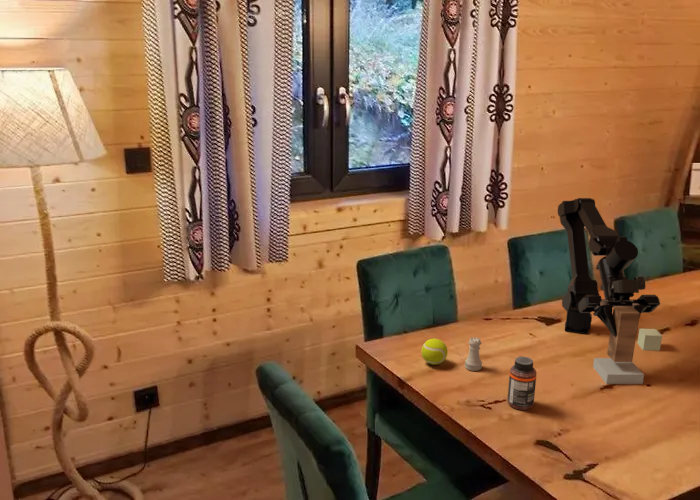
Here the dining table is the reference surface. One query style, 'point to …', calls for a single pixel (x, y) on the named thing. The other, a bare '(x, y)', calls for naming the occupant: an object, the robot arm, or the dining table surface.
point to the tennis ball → (434, 351)
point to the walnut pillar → (623, 334)
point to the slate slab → (618, 371)
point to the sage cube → (649, 339)
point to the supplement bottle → (522, 384)
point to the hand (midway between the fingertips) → (625, 335)
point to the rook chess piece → (473, 355)
